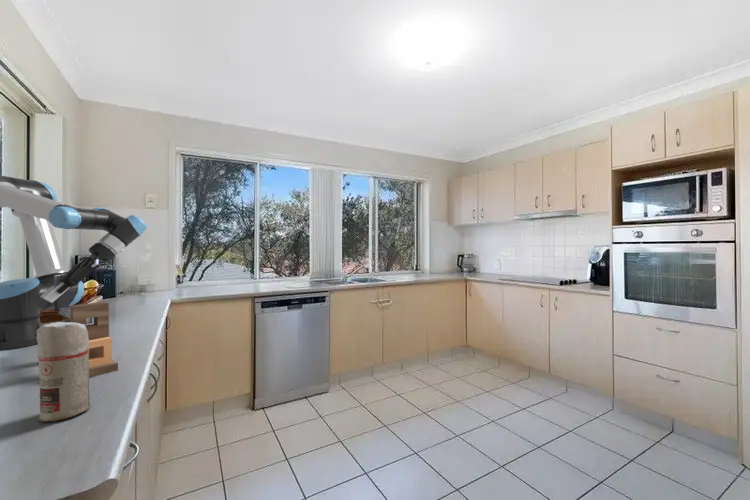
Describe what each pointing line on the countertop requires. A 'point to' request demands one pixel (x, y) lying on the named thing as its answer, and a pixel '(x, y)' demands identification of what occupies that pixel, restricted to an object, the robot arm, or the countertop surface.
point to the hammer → (64, 299)
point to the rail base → (94, 330)
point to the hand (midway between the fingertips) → (46, 299)
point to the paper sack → (63, 370)
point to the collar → (105, 351)
